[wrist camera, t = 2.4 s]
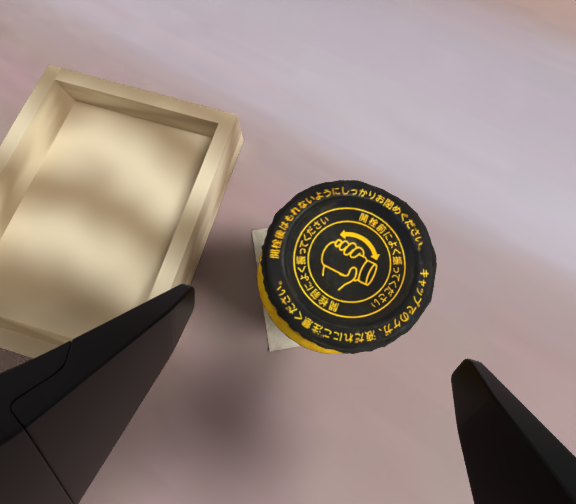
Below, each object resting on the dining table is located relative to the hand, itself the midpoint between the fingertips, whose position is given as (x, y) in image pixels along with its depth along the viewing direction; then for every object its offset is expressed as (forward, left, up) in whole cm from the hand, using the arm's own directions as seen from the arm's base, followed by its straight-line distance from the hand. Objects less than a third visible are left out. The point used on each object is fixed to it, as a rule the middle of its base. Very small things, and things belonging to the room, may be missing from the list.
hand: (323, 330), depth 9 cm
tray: (+3, +15, -10) cm, 19 cm away
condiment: (+3, 0, -10) cm, 11 cm away
